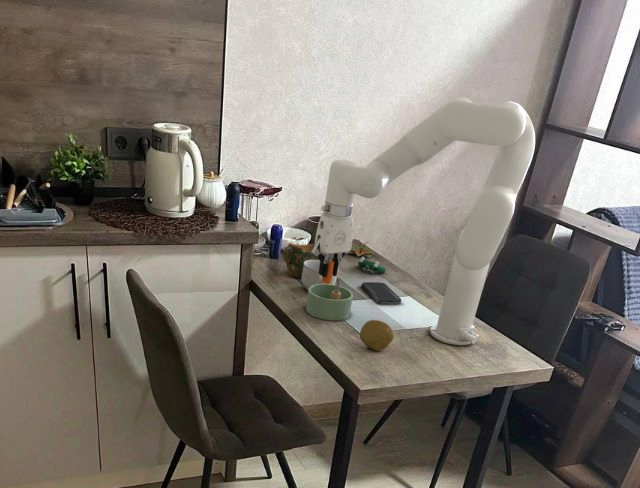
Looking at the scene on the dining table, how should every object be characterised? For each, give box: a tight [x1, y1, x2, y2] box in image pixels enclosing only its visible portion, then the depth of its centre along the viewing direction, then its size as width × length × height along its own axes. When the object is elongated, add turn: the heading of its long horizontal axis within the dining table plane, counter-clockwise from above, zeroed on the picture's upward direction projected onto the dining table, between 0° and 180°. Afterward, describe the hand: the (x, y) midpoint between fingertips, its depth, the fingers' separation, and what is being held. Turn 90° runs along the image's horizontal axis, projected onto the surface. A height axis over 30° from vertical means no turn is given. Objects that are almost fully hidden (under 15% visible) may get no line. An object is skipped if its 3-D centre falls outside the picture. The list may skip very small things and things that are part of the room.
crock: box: [305, 284, 354, 322], centre depth 208 cm, size 13×13×6 cm
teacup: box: [301, 260, 340, 291], centre depth 219 cm, size 14×11×8 cm
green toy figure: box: [357, 256, 387, 274], centre depth 243 cm, size 9×4×6 cm
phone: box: [361, 281, 402, 305], centre depth 225 cm, size 8×1×15 cm
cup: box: [281, 242, 333, 279], centre depth 232 cm, size 13×20×10 cm, turn 105°
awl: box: [331, 277, 341, 300], centre depth 204 cm, size 3×3×10 cm
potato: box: [359, 319, 394, 352], centre depth 189 cm, size 7×8×8 cm
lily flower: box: [347, 239, 377, 258], centre depth 257 cm, size 12×12×5 cm
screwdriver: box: [322, 254, 334, 284], centre depth 204 cm, size 3×3×10 cm
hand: (327, 274), depth 205 cm, fingers closed on screwdriver, 2 cm apart
